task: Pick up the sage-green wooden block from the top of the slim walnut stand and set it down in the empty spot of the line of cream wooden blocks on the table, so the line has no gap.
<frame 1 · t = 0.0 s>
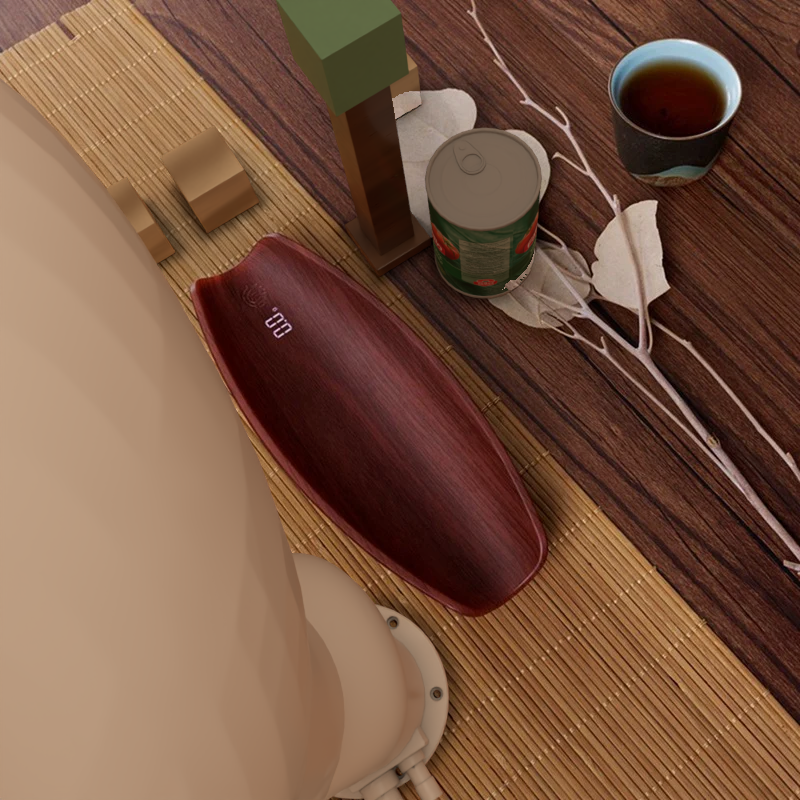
canned tomato: (484, 254, 73), on the table
green block: (350, 66, 54), point 21 cm above the table, touching stand
line block a: (135, 246, 76), on the table
line block b: (219, 196, 77), on the table
stand: (388, 238, 74), on the table
line block c: (381, 99, 78), on the table
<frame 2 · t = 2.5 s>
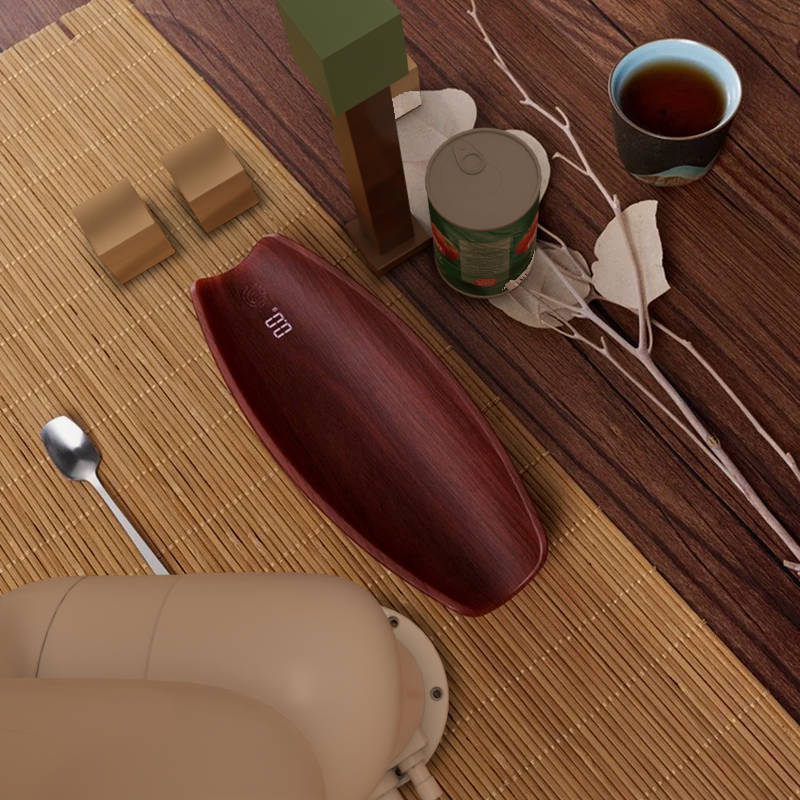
nothing on the table moved.
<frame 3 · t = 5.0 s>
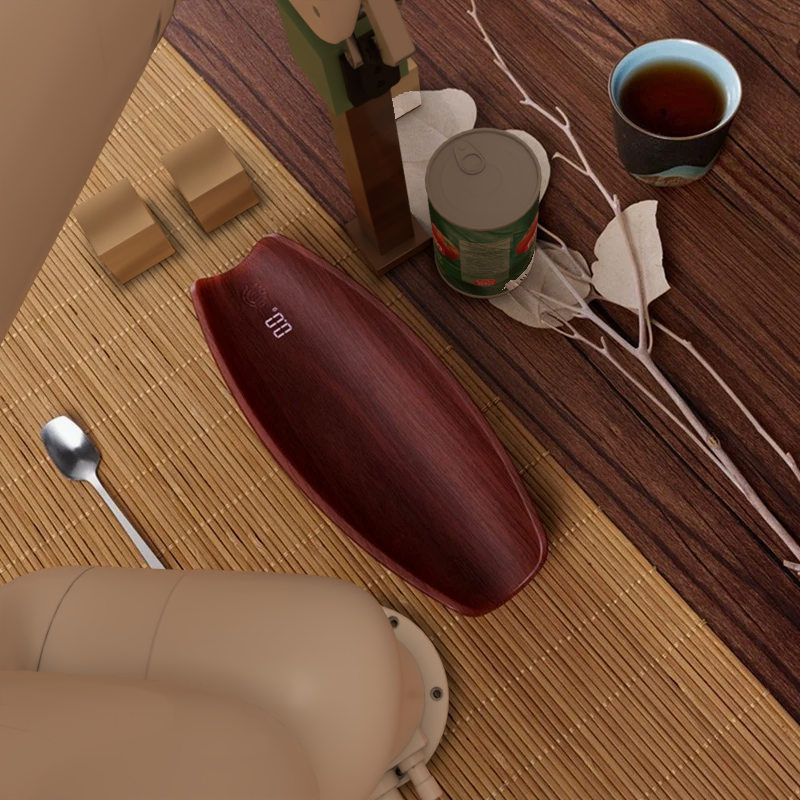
hand: (348, 56, 53), 22 cm above the table, tool pointing down, fingers closed on green block, 5 cm apart
green block: (350, 66, 54), point 21 cm above the table, touching gripper, stand
everything else where it was.
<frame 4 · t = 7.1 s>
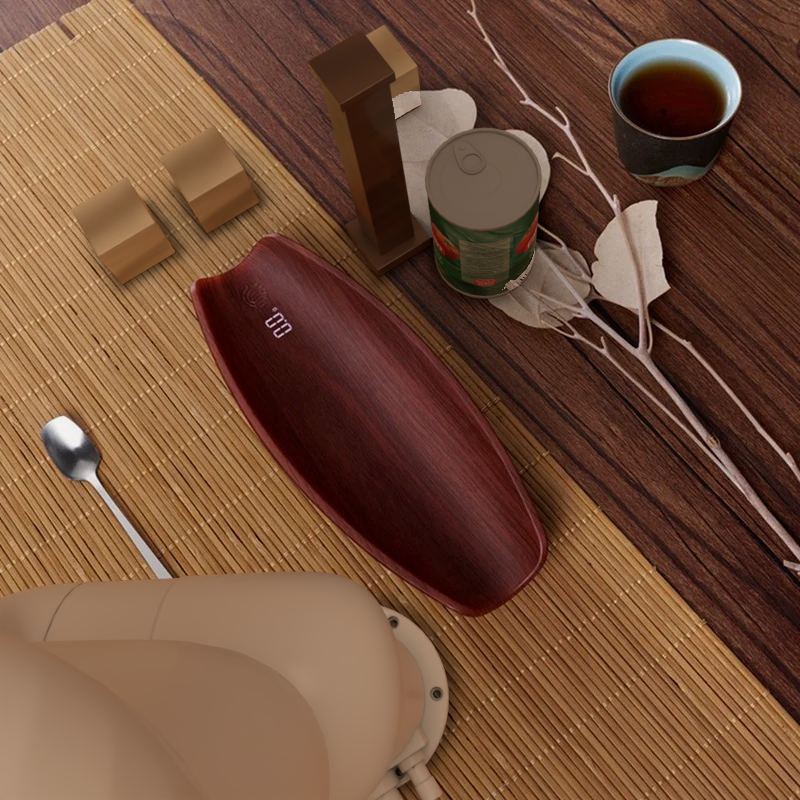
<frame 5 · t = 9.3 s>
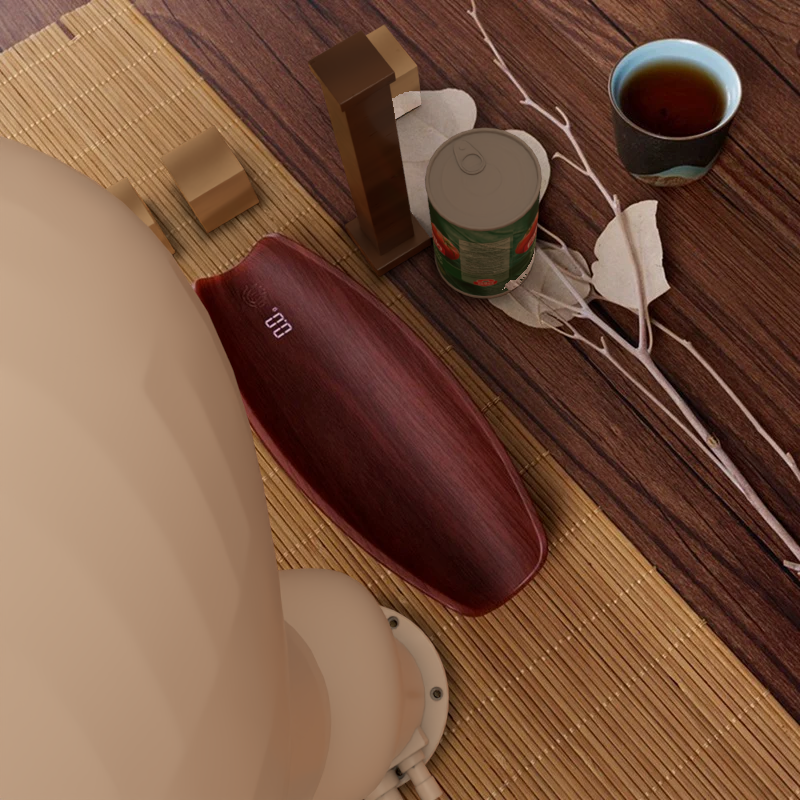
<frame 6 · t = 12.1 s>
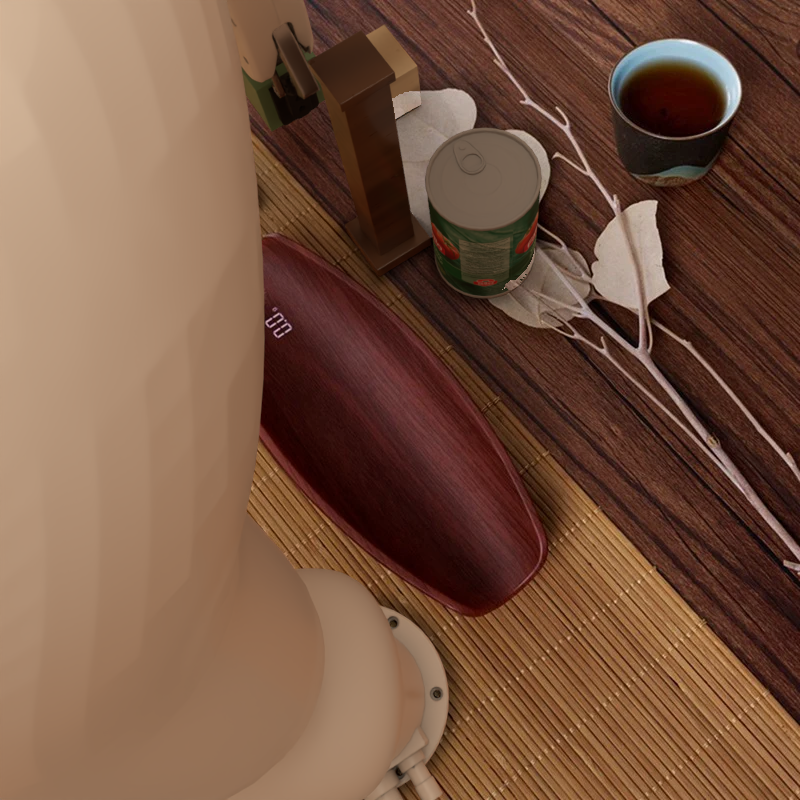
hand: (280, 85, 70), 8 cm above the table, tool pointing down, fingers closed on green block, 5 cm apart
green block: (283, 92, 71), point 7 cm above the table, touching gripper
everything else where it was.
when the fingers open (1 cm above the table, at t = 13.9 s): green block stays where it is, on the table.
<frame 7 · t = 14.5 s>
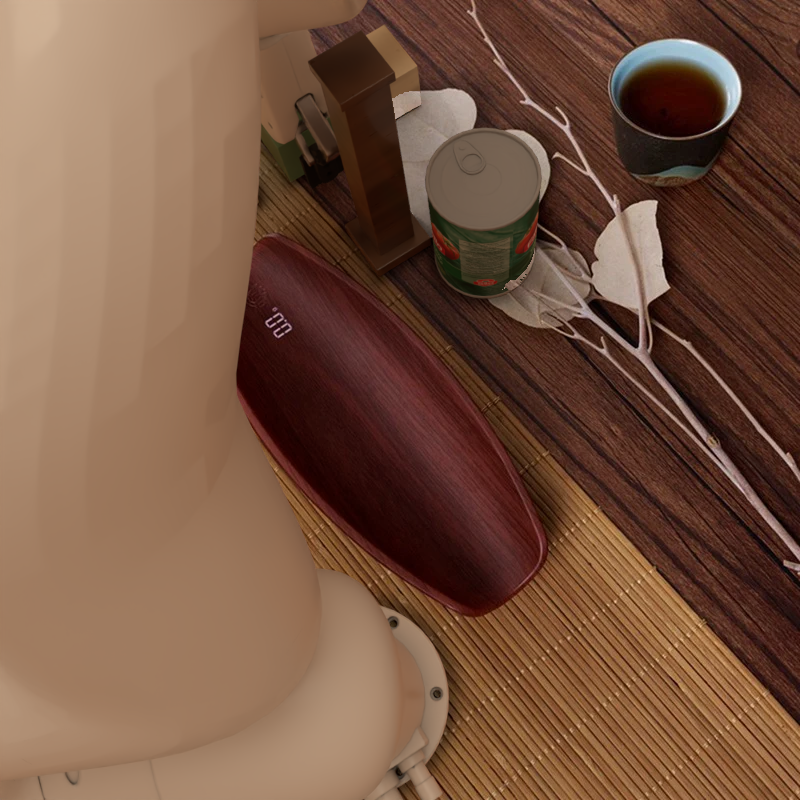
hand: (296, 135, 76), 2 cm above the table, tool pointing down, fingers open, 9 cm apart
green block: (301, 146, 77), on the table
everything else where it was.
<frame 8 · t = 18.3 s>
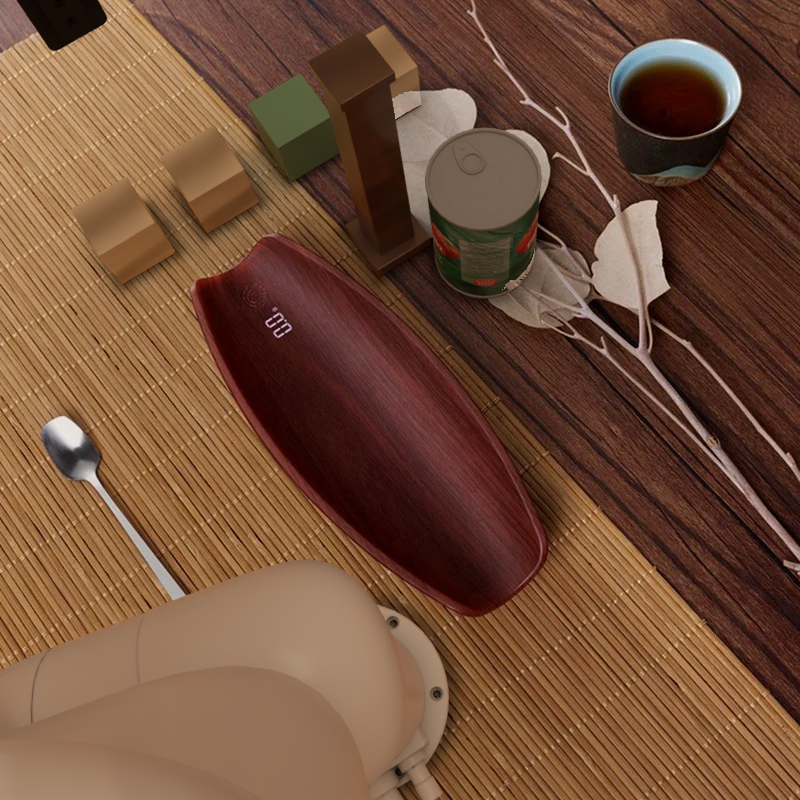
nothing on the table moved.
at the end: green block 0.1 cm from the target spot, on the table; green block tilted 0°; line block b moved 0.0 cm from its start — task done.
